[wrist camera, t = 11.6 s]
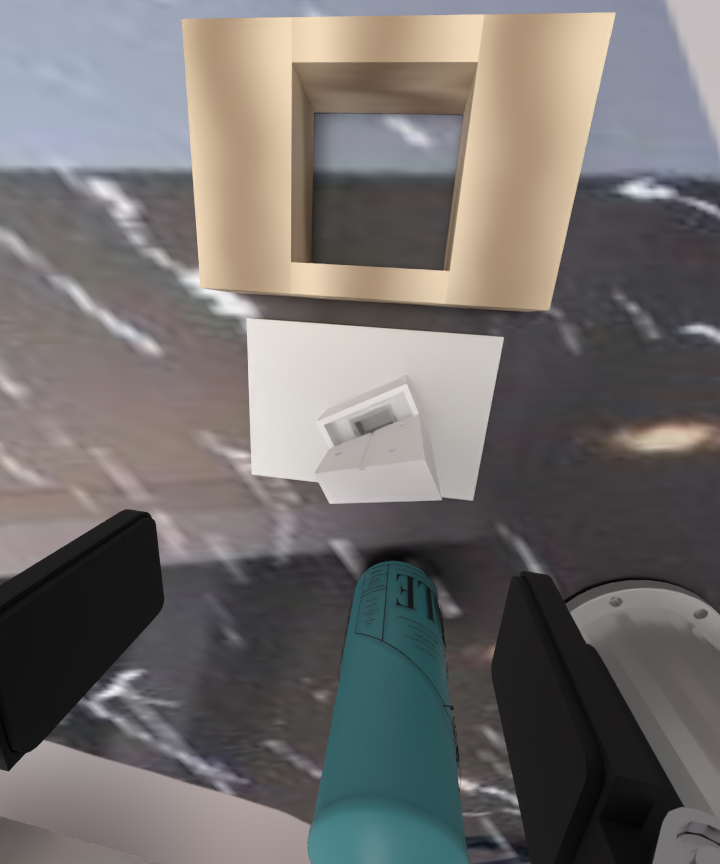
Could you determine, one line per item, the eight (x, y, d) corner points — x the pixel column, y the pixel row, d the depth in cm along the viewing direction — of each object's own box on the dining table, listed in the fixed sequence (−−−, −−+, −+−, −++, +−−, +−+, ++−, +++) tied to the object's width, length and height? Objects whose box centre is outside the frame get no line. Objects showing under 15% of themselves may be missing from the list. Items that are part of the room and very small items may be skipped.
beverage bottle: (349, 601, 29) (244, 1118, 10) (365, 534, 27) (268, 1033, 8) (426, 620, 29) (464, 1195, 10) (448, 555, 27) (550, 1127, 8)
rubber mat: (501, 336, 22) (503, 337, 21) (471, 496, 25) (472, 500, 24) (250, 318, 23) (246, 318, 23) (255, 470, 27) (251, 474, 26)
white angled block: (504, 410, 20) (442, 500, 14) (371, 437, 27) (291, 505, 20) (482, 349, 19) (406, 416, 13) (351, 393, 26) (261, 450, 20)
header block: (570, 78, 17) (615, 12, 14) (523, 311, 21) (549, 310, 17) (226, 77, 19) (181, 19, 15) (234, 292, 23) (200, 287, 19)
